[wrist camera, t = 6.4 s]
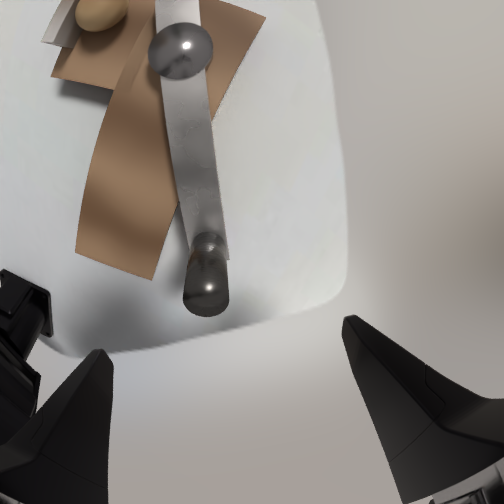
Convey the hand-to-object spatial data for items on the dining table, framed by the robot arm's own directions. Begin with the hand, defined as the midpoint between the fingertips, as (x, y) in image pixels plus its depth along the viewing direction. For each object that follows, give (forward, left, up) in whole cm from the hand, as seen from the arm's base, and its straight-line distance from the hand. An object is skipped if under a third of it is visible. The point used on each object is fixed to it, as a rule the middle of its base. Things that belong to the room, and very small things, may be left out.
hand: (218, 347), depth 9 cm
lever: (+6, +4, -9) cm, 11 cm away
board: (+4, +8, -11) cm, 14 cm away
